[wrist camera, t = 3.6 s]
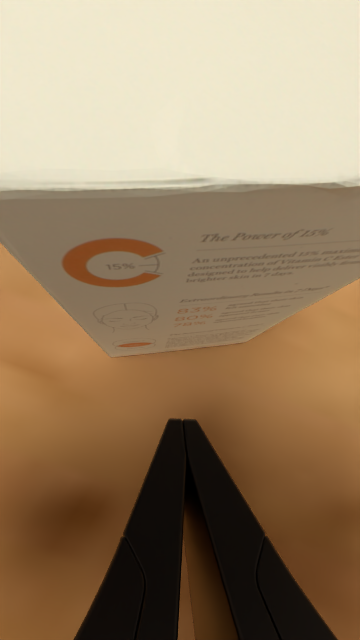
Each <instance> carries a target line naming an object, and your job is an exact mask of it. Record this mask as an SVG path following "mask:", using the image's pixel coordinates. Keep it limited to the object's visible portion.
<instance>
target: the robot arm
mask: <svg viewBox="0 0 360 640" xmlns="http://www.w3.org/2000/svg"><path fill="white" fill-rule="evenodd" d="M183 536H184V544H185V553H186V562H187V571H188V580H189V588H190V597H191V606H192V615H193V623H194V632H195V640H338V639H337V638H336V637H335V635H334V634H333V632H332V631H331V630H330V628H329V627H328V626H327V624H326V623H325V621H324V620H323V619H322V617H321V616H320V615H319V613H318V612H317V610H316V609H315V608H314V606H313V605H312V603H311V602H310V601H309V599H308V598H307V596H306V595H305V593H304V592H303V591H302V589H301V588H300V586H299V585H298V583H297V582H296V581H295V579H294V578H293V576H292V575H291V573H290V572H289V570H288V568H287V567H286V565H285V564H284V562H283V561H282V559H281V557H280V556H279V554H278V553H277V551H276V549H275V548H274V546H273V545H272V543H271V541H270V540H269V538H268V537H267V536H265V532H264V530H263V528H262V527H261V525H260V523H259V522H258V520H257V518H256V517H255V515H254V514H253V512H252V510H251V509H250V507H249V505H248V504H247V502H246V500H245V499H244V497H243V496H242V494H241V492H240V491H239V489H238V487H237V486H236V484H235V482H234V481H233V479H232V477H231V476H230V474H229V473H228V471H227V469H226V468H225V466H224V464H223V463H222V461H221V459H220V458H219V456H218V455H217V453H216V451H215V450H214V448H213V446H212V445H211V443H210V441H209V440H208V438H207V436H206V435H205V433H204V432H203V430H202V428H201V427H200V425H199V423H198V422H197V421H196V420H195V419H183V421H182V420H181V419H174V418H170V419H169V420H168V422H167V424H166V427H165V429H164V432H163V434H162V437H161V439H160V442H159V444H158V447H157V449H156V452H155V454H154V457H153V459H152V462H151V464H150V467H149V469H148V472H147V474H146V477H145V479H144V482H143V484H142V487H141V489H140V492H139V494H138V497H137V499H136V502H135V504H134V507H133V509H132V512H131V514H130V517H129V519H128V522H127V524H126V527H125V530H124V532H123V536H122V537H121V539H120V542H119V544H118V547H117V549H116V552H115V554H114V556H113V559H112V561H111V563H110V566H109V568H108V570H107V573H106V575H105V577H104V580H103V582H102V584H101V586H100V588H99V590H98V592H97V594H96V596H95V598H94V600H93V602H92V604H91V607H90V609H89V611H88V613H87V615H86V617H85V619H84V620H83V622H82V624H81V626H80V628H79V630H78V632H77V634H76V636H75V638H74V640H177V639H178V620H179V600H180V581H181V562H182V542H183Z"/></svg>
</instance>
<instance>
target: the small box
mask: <svg viewBox="0 0 360 640" xmlns="http://www.w3.org/2000/svg"><path fill="white" fill-rule="evenodd" d="M0 243H1V244H2V245H3V246H4V247H5V248H6V249H7V250H8V251H9V253H10V254H11V255H12V256H14V257H15V258H16V259H17V260H18V261H19V262H20V263H21V265H22V266H23V267H24V268H25V269H26V270H27V271H28V272H29V273H30V274H31V275H32V276H33V277H34V278H35V279H36V280H37V281H38V282H39V283H40V284H41V286H42V287H43V288H44V289H45V290H46V291H47V292H48V293H49V294H50V295H51V296H52V297H53V298H54V299H55V300H56V301H57V302H58V304H59V305H60V306H61V307H62V308H63V309H64V310H65V311H66V312H67V313H68V314H69V315H70V316H71V317H72V318H73V319H74V320H75V321H76V322H77V323H78V324H79V325H80V326H81V327H82V328H83V329H84V331H85V332H86V333H87V334H88V335H89V336H90V337H91V338H92V339H93V340H94V341H95V342H96V343H97V344H98V345H99V346H100V347H101V348H102V349H103V350H104V351H105V352H106V353H107V354H108V355H109V356H110V357H119V356H130V355H140V354H149V353H159V352H168V351H177V350H185V349H194V348H203V347H212V346H220V345H229V344H236V343H243V342H247V341H249V340H251V339H252V338H254V337H256V336H258V335H259V334H261V333H263V332H265V331H266V330H268V329H269V328H271V327H273V326H274V325H276V324H278V323H280V322H281V321H283V320H285V319H287V318H288V317H290V316H292V315H294V314H296V313H297V312H299V311H301V310H303V309H305V308H306V307H308V306H310V305H312V304H314V303H316V302H318V301H319V300H321V299H323V298H325V297H327V296H328V295H330V294H332V293H334V292H336V291H337V290H339V289H341V288H343V287H344V286H346V285H348V284H350V283H352V282H353V281H355V280H357V279H359V278H360V0H0Z"/></svg>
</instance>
